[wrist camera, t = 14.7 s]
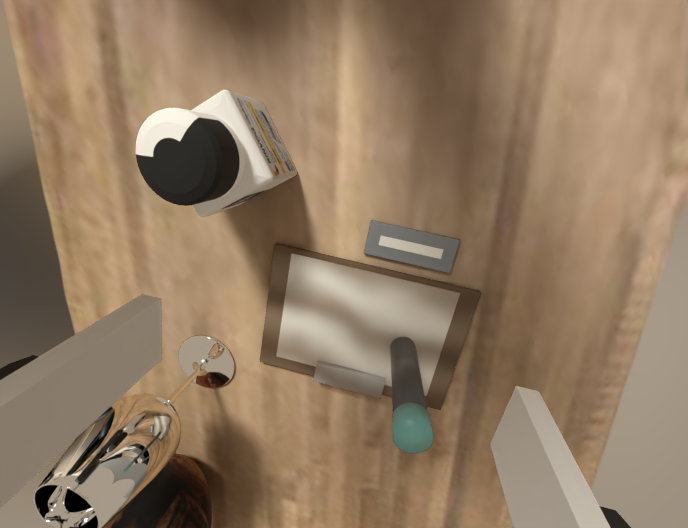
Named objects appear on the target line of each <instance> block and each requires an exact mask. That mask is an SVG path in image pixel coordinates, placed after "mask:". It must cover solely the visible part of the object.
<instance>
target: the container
mask: <svg viewBox="0 0 688 528" xmlns="http://www.w3.org/2000/svg"><path fill="white" fill-rule="evenodd" d="M136 158H137V163H138V167H139V169H140V172H141V174H142V176H143V178H144V180H145V181H146V182H147V184H148V185H149V187H150V188H151V189H152V190H153V191H154V192H155V193H156V194H157V195H159V196H160V197H161V198H163V199H165V200H167V201H168V202H171V203H173V204H177V205H185V206H186V205H193V206H194V208H195V209H196V211H197V213H198V215H199V216H201V217H206V216H209V215H212V214H215V213H218V212H221V211H224V210H227V209H230V208H233V207H236V206H239V205H241V204H243V203H245V202H247V201H249V200H250V199H252V198H254V197H256V196H258V195H260V194H262V193H264V192H266V191H268V190H269V189H271V188H273V187H275V186H277V185H279V184H281V183H283V182H285V181H287V180H288V179H290V178H292V177H294V176H296V175H297V170H296V168H295V166H294V164H293V162H292V160H291V158H290V156H289V154H288V152H287V150H286V148H285V146H284V144H283V142H282V140H281V138H280V136H279V134H278V132H277V130H276V128H275V126H274V124H273V122H272V120H271V118H270V116H269V114H268V112H267V110H266V108H265V106H264V104H263V103H262V102H261V101H258V100H255V99H252V98H249V97H246V96H243V95H240V94H237V93H234V92H231V91H228V90H222V91H220V92H219V93H217V94H216V95H214V96H213V97H211V98H210V99H208V100H206V101H205V102H203V103H202V104H200V105H199V106H197V107H196V108H194V109H193V110H191V111H190V110H185V109H179V108H166V109H162V110H159V111H157V112H155V113H153V114H152V115H151V116H149V117H148V118H147V119H146V121H145V122H144V123H143V125H142V126H141V128H140V130H139V133H138V136H137V140H136Z"/></svg>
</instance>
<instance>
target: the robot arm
mask: <svg viewBox="0 0 688 528" xmlns="http://www.w3.org/2000/svg"><path fill="white" fill-rule="evenodd" d="M161 359H162V310H161V298H157V297H153V296H148V295H144V294H142V295H140V296H138V297H137V298H135V299H133V300H132V301H130V302H129V303H127V304H125V305H124V306H122V307H120V308H119V309H117V310H115V311H114V312H112V313H110V314H109V315H107V316H105V317H104V318H102V319H100V320H99V321H97V322H96V323H94V324H92V325H91V326H89V327H87V328H86V329H84V330H82V331H81V332H79V333H77V334H76V335H74V336H72V337H71V338H69V339H68V340H66V341H64V342H63V343H61V344H59V345H58V346H56V347H54V348H53V349H51V350H50V351H48V352H46V353H45V354H43V355H41V356H39V357H38V356H34V355H32V356H30V357H27V358H24V359H21V360H19V361H16V362H13V363H10V364H8V365H6V366H5V367H3V368H1V369H0V508H1V507H2V506H3V505H4V504H5V503H7V502H8V501H9V500H10V499H11V498H12V497H13V496H14V495H15V494H16V493H17V492H18V491H20V489H22V488H23V487H24V486H25V485H26V484H27V483H28V482H29V481H30V480H32V479H33V478H34V477H35V476H36V475H37V474H38V473H39V472H40V471H41V470H42V469H43V468H44V467H46V465H48V464H49V463H50V462H51V461H52V460H53V459H54V458H55V457H56V456H57V455H58V454H59V453H60V452H62V451H63V450H64V449H65V448H66V447H67V446H68V445H69V444H70V443H72V442H73V441H74V440H75V439H76V438H77V437H78V436H79V435H80V434H81V433H82V432H83V431H85V430H86V429H87V428H88V427H89V426H90V425H91V424H92V423H93V422H94V421H95V420H96V419H98V418H99V417H100V416H101V415H102V414H103V413H104V412H105V411H106V410H107V409H108V408H109V407H111V406H112V405H113V404H114V403H115V402H116V401H117V400H118V399H119V398H120V397H121V396H122V395H124V394H125V393H126V392H127V391H128V390H129V389H130V388H131V387H132V386H133V385H134V384H135V383H137V382H138V381H139V380H140V379H141V378H142V377H143V376H144V375H145V374H146V373H147V372H148V371H150V370H151V369H152V368H153V367H154V366H155V365H156V364H157V363H158V362H159V361H160V360H161ZM490 446H491V449H492V453H493V457H494V460H495V464H496V467H497V471H498V475H499V478H500V482H501V485H502V489H503V493H504V496H505V500H506V503H507V507H508V511H509V514H510V518H511V521H512V525H513V528H631V527H630V526H629V525H628V524H627V523H626V522H625V521H624V519H623V518H622V517H621V516H620V515H619V514H618V513H617V511H615V510H612V509H608V508H604V507H600V506H599V505H598V503H597V501H596V499H595V497H594V495H593V493H592V491H591V489H590V488H589V486H588V484H587V482H586V480H585V478H584V476H583V474H582V472H581V470H580V469H579V467H578V465H577V463H576V461H575V459H574V457H573V455H572V453H571V451H570V450H569V448H568V446H567V444H566V442H565V440H564V438H563V436H562V434H561V432H560V431H559V429H558V427H557V425H556V423H555V421H554V419H553V417H552V415H551V413H550V412H549V410H548V408H547V406H546V404H545V402H544V400H543V398H542V396H541V394H540V393H539V391H536V390H532V389H528V388H524V387H519V386H516V387H515V389H514V392H513V394H512V396H511V398H510V401H509V403H508V405H507V407H506V410H505V412H504V414H503V416H502V419H501V421H500V423H499V426H498V428H497V430H496V432H495V435H494V437H493V439H492V441H491V444H490Z"/></svg>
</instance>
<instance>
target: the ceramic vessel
mask: <svg viewBox="0 0 688 528" xmlns="http://www.w3.org/2000/svg"><path fill="white" fill-rule="evenodd" d="M104 528H211V496H210V492H209V488H208V485H207V482H206V479H205V477H204V474H203V472H202V471H201V469H200V468H199V466H198V465H197V464H196V463H195V462H194V461H193V460H192V459H191V458H189V457H187V456H184V455H180V454H175V455H174V456H173V458H172V459H171V461H170V462H169V464H168V465H167V466H166V467H165V469H164V470H163V471H162V472H161V473H160V475H159V476H158V477H157V478H156V479H155V480H154V481H153V482H152V483H151V484H150V485H149V486H148V487H147V488H146V489H145V490H144V491H143V492H142V493H141V494H140V495H139V496H138V497H137V498H136V499H135V500H134V501H132V502H131V503H130V504H129V505H128V506H127V507H126V508H125V509H124V510H123V511H122V512H121V513H119V514H118V515H117V516H116V517H115V518H114V519H113V520H111V521H110V522H109V523H108V524H107V525H106V526H105V527H104Z"/></svg>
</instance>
